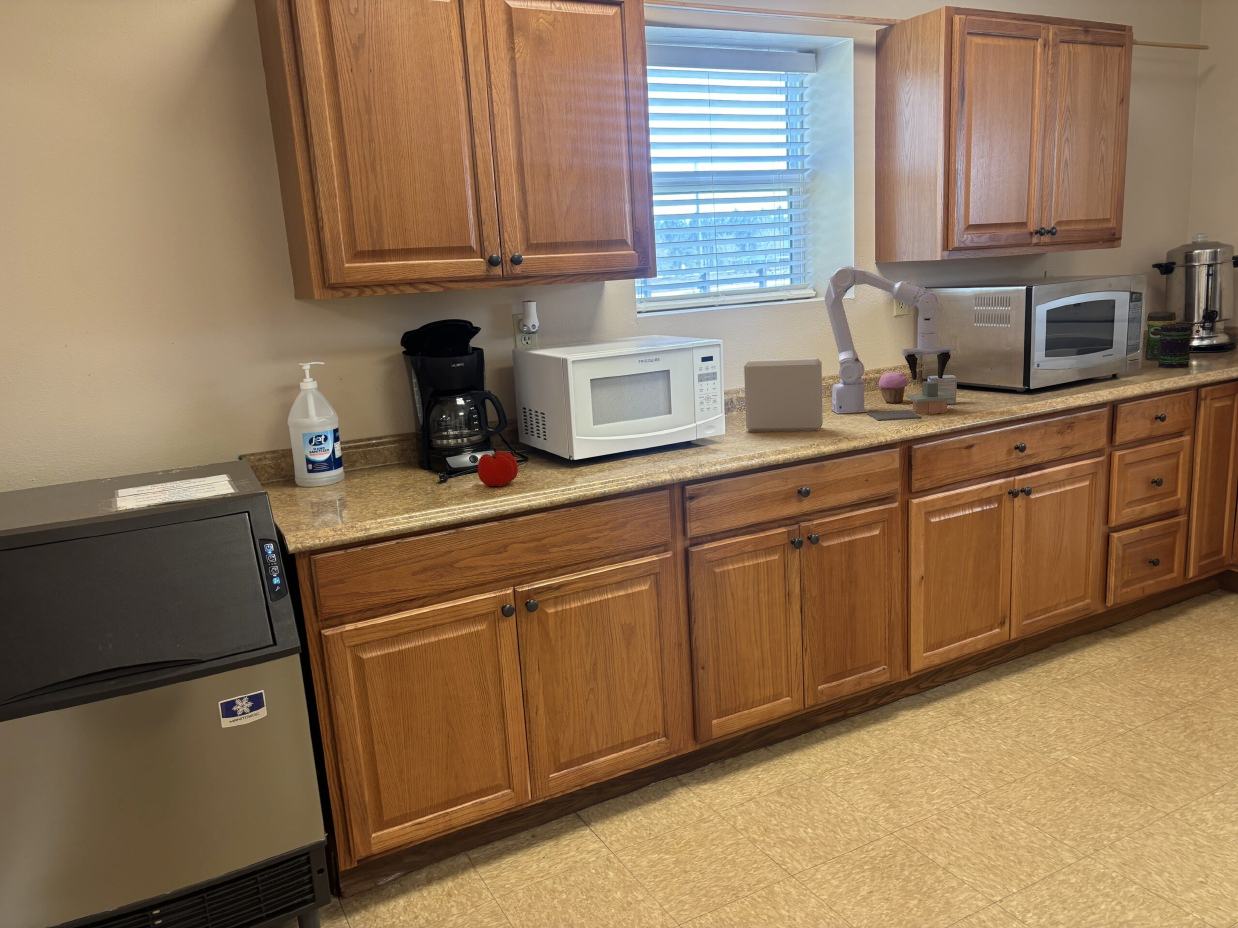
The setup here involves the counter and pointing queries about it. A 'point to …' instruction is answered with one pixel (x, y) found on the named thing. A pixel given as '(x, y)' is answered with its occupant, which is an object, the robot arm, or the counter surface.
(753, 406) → the taupe bevelled box
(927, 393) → the lid
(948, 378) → the medicine box
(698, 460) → the counter surface
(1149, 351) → the coffee jar
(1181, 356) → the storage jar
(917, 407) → the bowl
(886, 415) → the mat
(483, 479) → the tomato
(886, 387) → the cupcake
